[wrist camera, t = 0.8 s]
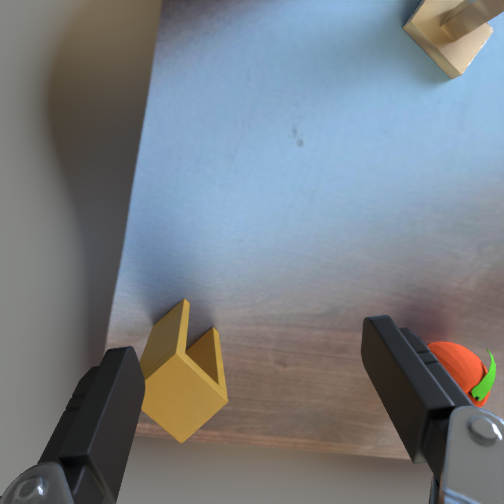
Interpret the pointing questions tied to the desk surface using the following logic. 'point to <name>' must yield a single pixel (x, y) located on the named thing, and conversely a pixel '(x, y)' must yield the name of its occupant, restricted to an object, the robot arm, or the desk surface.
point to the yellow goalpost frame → (182, 375)
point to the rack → (452, 30)
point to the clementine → (466, 370)
